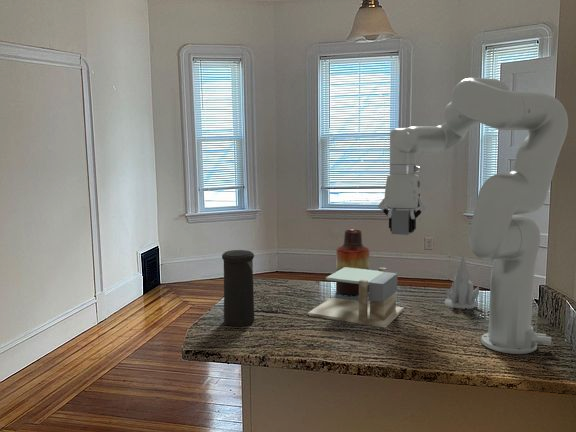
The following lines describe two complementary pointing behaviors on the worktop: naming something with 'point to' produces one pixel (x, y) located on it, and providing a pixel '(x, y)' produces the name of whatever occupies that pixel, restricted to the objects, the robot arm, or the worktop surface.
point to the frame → (360, 308)
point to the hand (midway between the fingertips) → (402, 230)
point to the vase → (351, 260)
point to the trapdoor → (369, 281)
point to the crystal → (462, 290)
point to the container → (238, 287)
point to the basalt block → (400, 221)
